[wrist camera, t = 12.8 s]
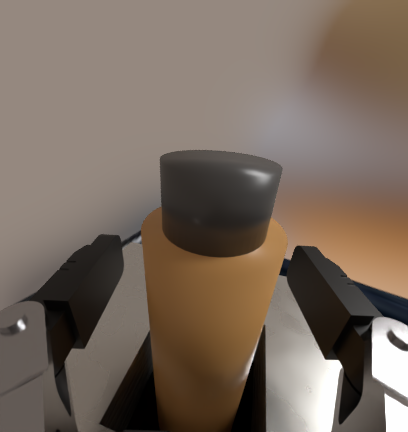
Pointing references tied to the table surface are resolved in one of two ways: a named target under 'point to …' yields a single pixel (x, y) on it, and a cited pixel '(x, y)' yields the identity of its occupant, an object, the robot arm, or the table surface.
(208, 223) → the plug
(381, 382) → the robot arm
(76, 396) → the grey square-holed plate
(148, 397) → the table surface
